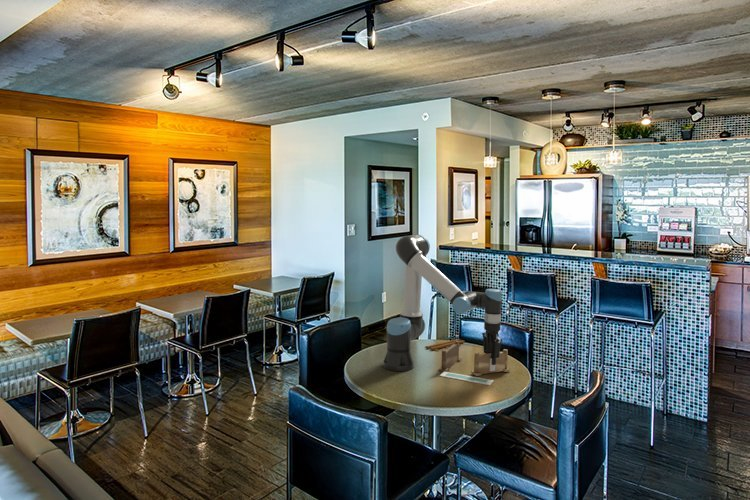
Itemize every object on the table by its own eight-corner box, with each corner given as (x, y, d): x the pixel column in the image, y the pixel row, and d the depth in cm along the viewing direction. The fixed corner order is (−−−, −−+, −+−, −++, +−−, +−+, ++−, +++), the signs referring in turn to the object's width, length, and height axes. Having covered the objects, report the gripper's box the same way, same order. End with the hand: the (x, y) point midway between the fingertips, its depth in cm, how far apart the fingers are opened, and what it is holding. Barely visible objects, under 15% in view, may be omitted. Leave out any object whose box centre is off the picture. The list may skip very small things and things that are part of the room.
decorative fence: (423, 348, 279) (435, 353, 271) (423, 345, 279) (435, 349, 271) (455, 341, 293) (467, 345, 285) (455, 337, 293) (467, 341, 285)
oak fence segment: (471, 372, 237) (471, 352, 236) (504, 368, 243) (505, 348, 242) (476, 375, 233) (476, 355, 231) (510, 371, 239) (510, 350, 238)
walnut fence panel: (438, 370, 241) (438, 350, 240) (453, 358, 259) (453, 340, 258) (446, 372, 239) (447, 352, 238) (461, 360, 257) (461, 341, 256)
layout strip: (439, 376, 234) (439, 375, 234) (444, 372, 239) (444, 371, 239) (490, 385, 222) (490, 384, 222) (493, 381, 227) (493, 380, 227)
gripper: (477, 318, 241) (475, 365, 243) (494, 326, 227) (493, 376, 230) (490, 317, 244) (488, 364, 246) (508, 324, 230) (506, 374, 232)
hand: (490, 369), depth 238 cm, fingers closed on oak fence segment, 2 cm apart
